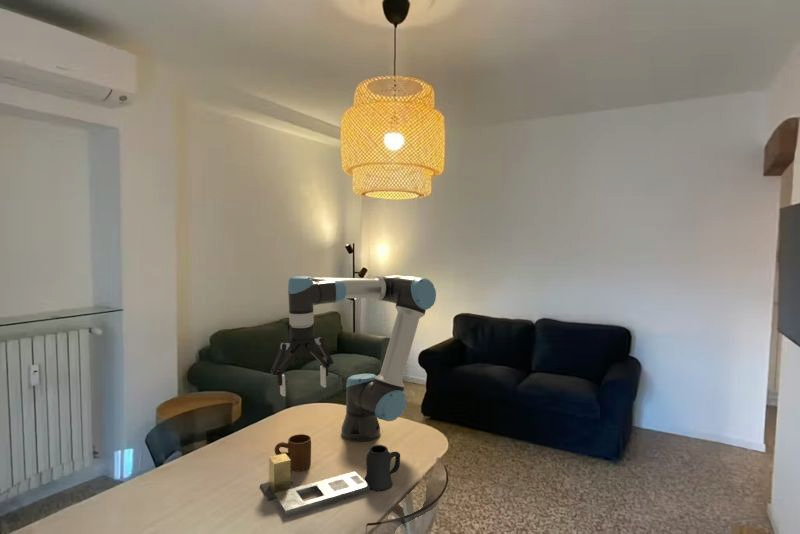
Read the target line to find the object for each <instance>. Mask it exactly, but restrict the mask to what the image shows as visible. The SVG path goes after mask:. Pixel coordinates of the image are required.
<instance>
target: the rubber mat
mask: <svg viewBox="0 0 800 534" xmlns="http://www.w3.org/2000/svg"><path fill="white" fill-rule="evenodd" d="M259 486H260V489H261V490H262V491H263V493H264V495H265V497H266V498H267V500H268V501H272V500H275V493H273V491H272V490H271V488H270V486H269V481H268V482H263V483H261V484H260V485H259ZM296 487H297V486H296V484H295V483H294V482H293V480H292V479H291V478H290V489H292V488H296ZM288 490H289V489H288ZM277 493H278V492H277Z"/></svg>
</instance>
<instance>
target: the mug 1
mask: <svg viewBox="0 0 800 534" xmlns="http://www.w3.org/2000/svg"><path fill="white" fill-rule="evenodd" d="M281 448H284V449H285V448H286V449H287V452H286V451H281V450H280V449H281ZM284 453H285V454H286V455H287V456H288V457H289V459H290V460H291V471H295V472H301V471H305V470H307V469H308V468H310V467H311V465H312V464H311V463H312V438H311V436H310V435H308V434H303V433H302V434H301V433H300V434H294V435H291V436H290V437H289V438H288V440H287V442H284V441H280V442H277V444H275V447H274V454H275V455H280V454H284Z"/></svg>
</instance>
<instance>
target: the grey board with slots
mask: <svg viewBox="0 0 800 534" xmlns="http://www.w3.org/2000/svg"><path fill="white" fill-rule="evenodd" d="M370 492H371V491H370V485H369V484H368V483H367V482H365V481H364V479H363V477H362V476H361V475H359V474H358V472H356V471H351V472H348V473H344V474H340V475H336V476H333V477H329V478H325V479H322V480H318V481H315V482H314V481H313V482H312V483H308V484H304V485H300V486H296V488H292V489H289V490H285V491H281V492H278V493H275V499H274V502H275V503H276V505H277V506H278V508H279V510H280V511H281V513H282V515H283V516H284V517H285V519H286V518H290V517H293V516H297V515H299V514H304V513H307V512H309V511H313V510H317V509H319V508H322V507H326V506H328V505H333V504H334V503H335V504H336V503H338V502H342V501H345V500H348V499H352V498H355V497H359V496H361V495H364V494H367V493H370ZM312 493H313V494H314V493H316V494H318V497H314V498H312V499H307V500H305V501H304V500H303V499H302V496H306V495H311V494H312Z"/></svg>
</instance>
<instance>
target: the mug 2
mask: <svg viewBox="0 0 800 534" xmlns="http://www.w3.org/2000/svg"><path fill="white" fill-rule="evenodd" d="M393 458H394V460H395V461H394V466H393V467H392V468H391V464H392V463H391V462H392V459H393ZM365 462H366V463H365V464H366V466H365V467H366V474H365V476H364V479H363V480H364V481H365V482H367V483H368V484H369V485H370V492H377V493H379V492H386V491H387V490H390V489H391V488H392V487H393V479H392V475H393V474H395V473H397V472H398V470H399V469H400V466H401V454H400V453H399V452H398V451H391V452H390V451H389V450H388V447H387V446H386V445H382V444H375V445H371V446H370V447H369V450H368V451H367V453H366V461H365Z"/></svg>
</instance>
